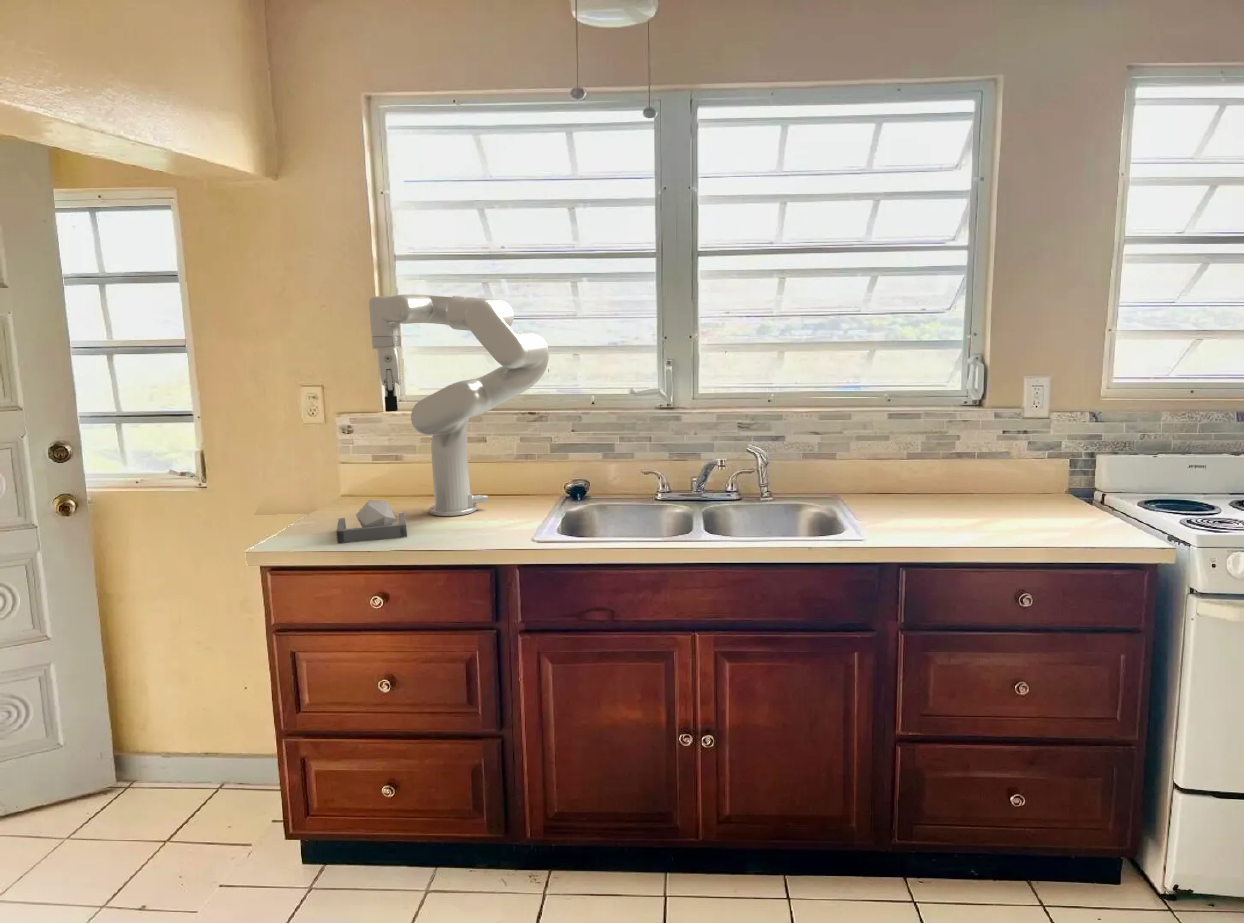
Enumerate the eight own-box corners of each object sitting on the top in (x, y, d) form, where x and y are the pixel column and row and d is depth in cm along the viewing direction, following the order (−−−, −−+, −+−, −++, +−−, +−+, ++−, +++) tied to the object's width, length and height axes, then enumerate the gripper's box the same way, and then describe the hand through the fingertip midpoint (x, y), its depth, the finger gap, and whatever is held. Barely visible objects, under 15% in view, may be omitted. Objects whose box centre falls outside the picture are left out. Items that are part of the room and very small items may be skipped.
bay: (405, 524, 215) (404, 512, 214) (407, 536, 202) (406, 524, 202) (339, 530, 210) (338, 518, 210) (337, 543, 198) (336, 531, 198)
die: (402, 531, 211) (388, 498, 213) (394, 522, 203) (380, 488, 205) (371, 545, 209) (358, 511, 212) (362, 536, 201) (348, 502, 204)
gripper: (401, 343, 219) (406, 413, 222) (400, 341, 233) (404, 407, 236) (372, 344, 217) (377, 415, 220) (372, 342, 231) (377, 408, 234)
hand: (391, 410), depth 228 cm, fingers closed
